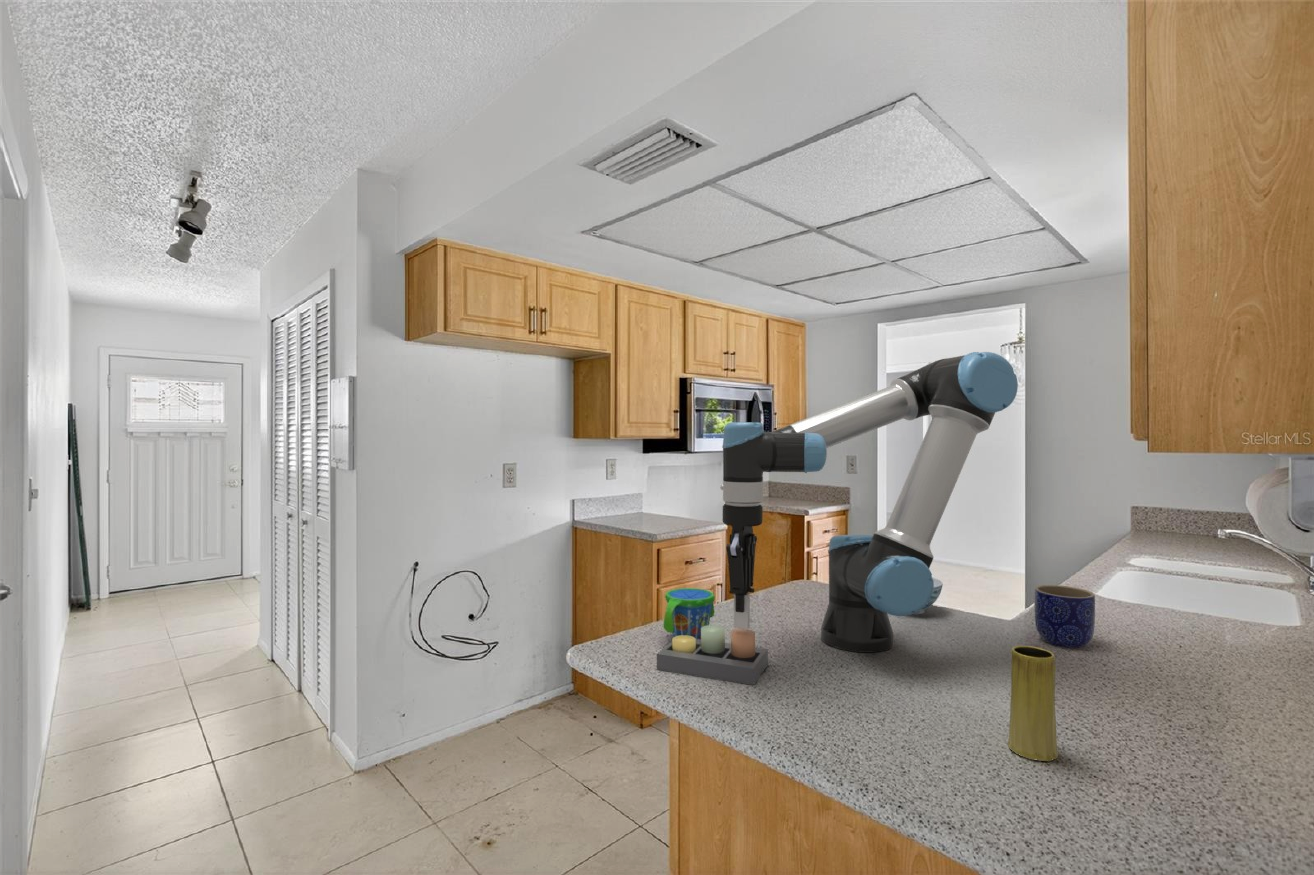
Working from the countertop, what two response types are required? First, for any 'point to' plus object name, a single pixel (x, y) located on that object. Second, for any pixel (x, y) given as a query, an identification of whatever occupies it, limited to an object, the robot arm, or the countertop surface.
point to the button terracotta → (743, 643)
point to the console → (714, 664)
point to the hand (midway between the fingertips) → (741, 627)
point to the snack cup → (688, 611)
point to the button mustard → (684, 644)
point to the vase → (1033, 703)
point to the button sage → (713, 639)
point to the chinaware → (934, 595)
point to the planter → (1064, 615)
